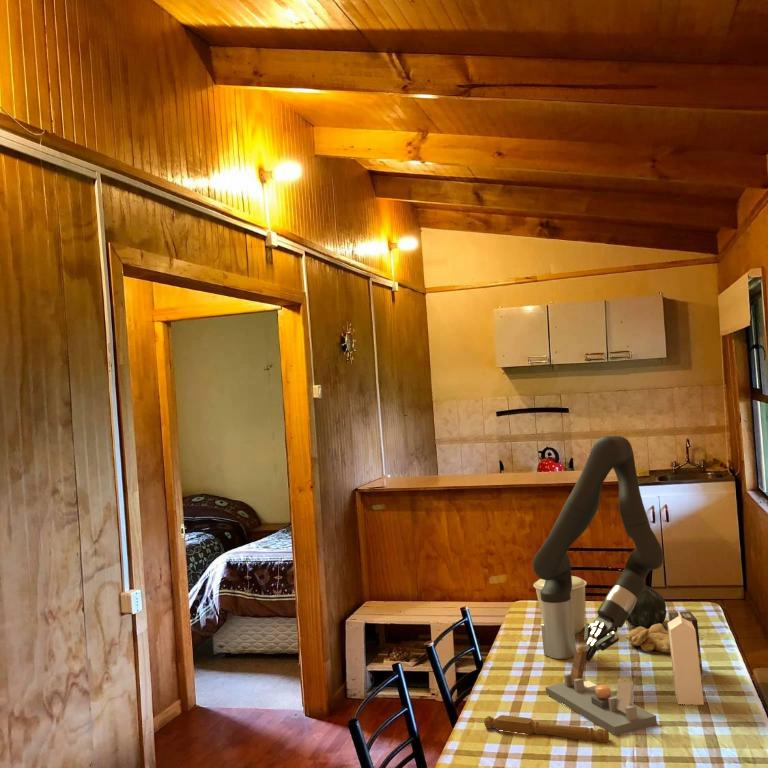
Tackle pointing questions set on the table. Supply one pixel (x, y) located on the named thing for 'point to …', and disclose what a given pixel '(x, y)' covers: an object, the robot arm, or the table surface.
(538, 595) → the canister
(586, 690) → the control panel
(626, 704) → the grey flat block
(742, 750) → the table surface
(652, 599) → the squash
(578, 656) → the walnut lever
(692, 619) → the coffee box
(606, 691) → the terracotta button
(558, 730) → the turned wooden table leg
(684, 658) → the milk
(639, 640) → the ginger root
